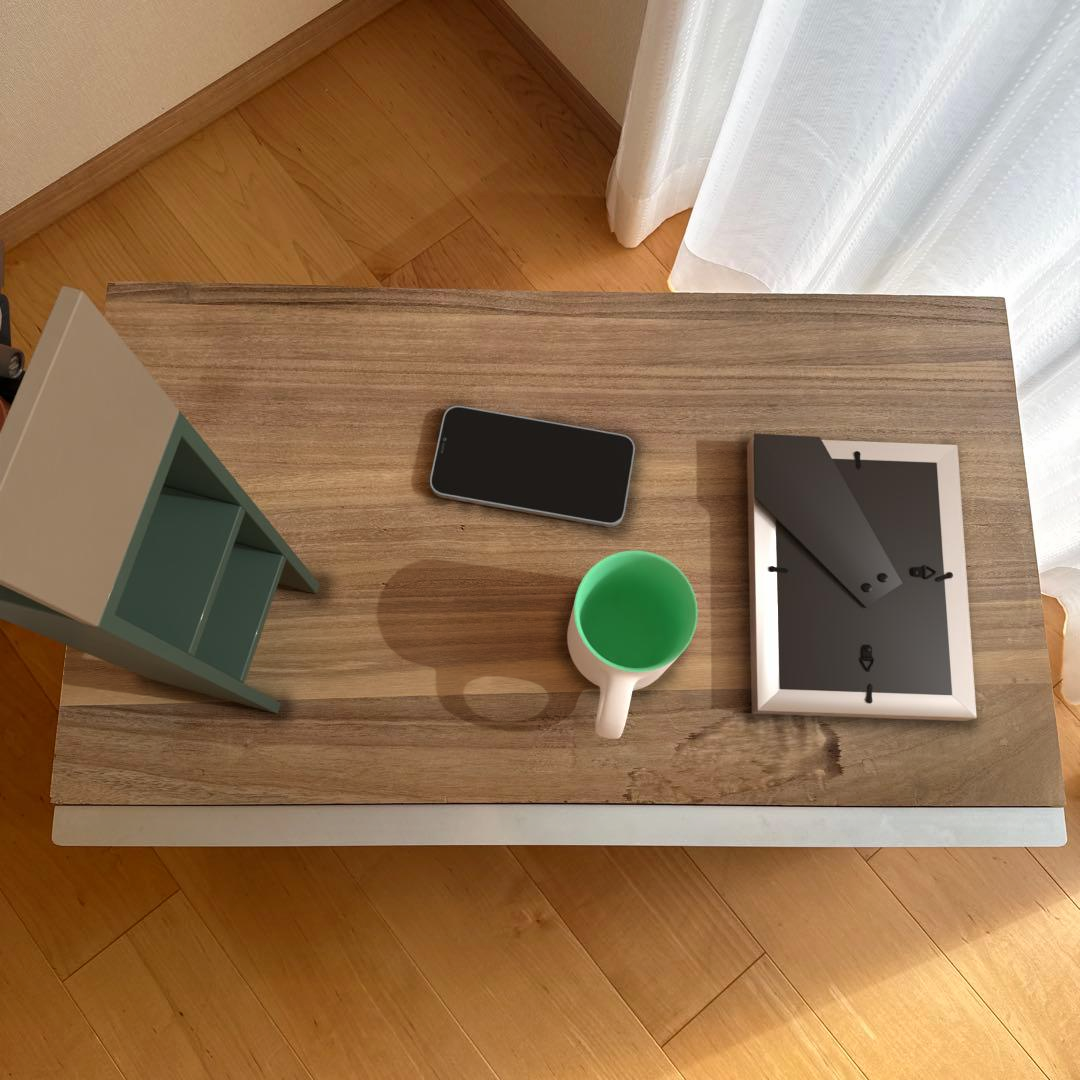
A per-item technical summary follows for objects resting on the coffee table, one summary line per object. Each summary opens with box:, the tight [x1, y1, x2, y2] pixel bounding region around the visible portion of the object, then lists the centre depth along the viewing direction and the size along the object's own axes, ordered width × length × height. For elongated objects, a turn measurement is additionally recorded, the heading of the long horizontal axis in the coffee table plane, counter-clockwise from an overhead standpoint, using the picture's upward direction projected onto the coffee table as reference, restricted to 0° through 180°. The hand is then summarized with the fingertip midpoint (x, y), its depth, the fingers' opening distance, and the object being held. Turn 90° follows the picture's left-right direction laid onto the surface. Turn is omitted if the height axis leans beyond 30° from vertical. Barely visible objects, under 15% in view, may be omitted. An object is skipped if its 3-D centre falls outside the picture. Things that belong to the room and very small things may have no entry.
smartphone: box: [429, 405, 636, 528], centre depth 84 cm, size 7×1×15 cm
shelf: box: [0, 285, 321, 715], centre depth 58 cm, size 10×10×46 cm
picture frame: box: [746, 433, 978, 722], centre depth 81 cm, size 16×3×21 cm
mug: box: [566, 550, 699, 740], centre depth 75 cm, size 12×8×10 cm, turn 172°
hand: (0, 475), depth 46 cm, fingers closed on canister, 5 cm apart
